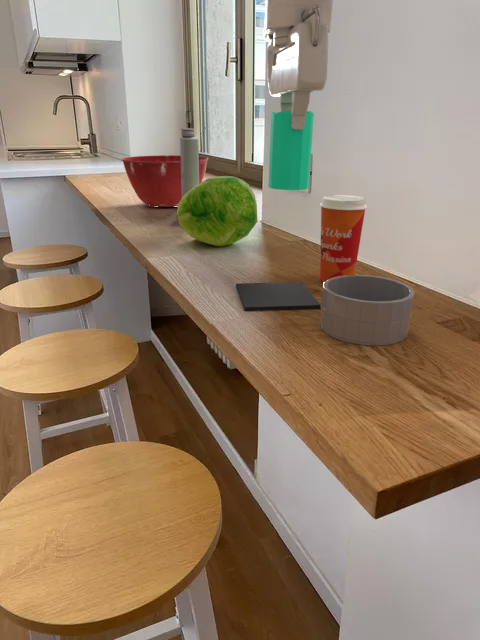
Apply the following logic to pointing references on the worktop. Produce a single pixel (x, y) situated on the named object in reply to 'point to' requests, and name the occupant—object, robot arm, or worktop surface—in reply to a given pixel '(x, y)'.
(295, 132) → the candle
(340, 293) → the tin
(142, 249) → the worktop surface
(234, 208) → the lettuce
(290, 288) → the coaster
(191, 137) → the flask
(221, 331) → the worktop surface
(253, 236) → the worktop surface
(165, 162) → the mixing bowl
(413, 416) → the worktop surface
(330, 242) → the coffee cup
